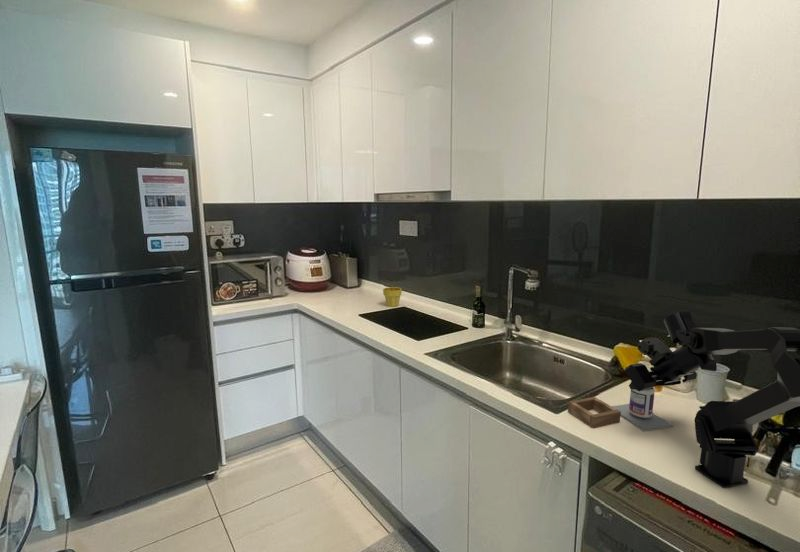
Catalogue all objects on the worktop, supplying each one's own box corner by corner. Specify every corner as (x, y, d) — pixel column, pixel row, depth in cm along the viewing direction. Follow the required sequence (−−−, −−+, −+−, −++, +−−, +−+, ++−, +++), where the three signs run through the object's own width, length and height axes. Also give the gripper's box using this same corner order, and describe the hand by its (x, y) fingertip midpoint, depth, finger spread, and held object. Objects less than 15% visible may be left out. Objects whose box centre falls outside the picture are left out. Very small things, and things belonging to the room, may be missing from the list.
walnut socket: (619, 422, 105) (620, 411, 105) (592, 428, 102) (593, 417, 102) (593, 406, 114) (594, 396, 113) (567, 411, 111) (568, 401, 110)
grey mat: (672, 426, 103) (672, 424, 103) (643, 431, 101) (644, 429, 101) (635, 404, 115) (635, 402, 115) (608, 408, 113) (608, 406, 113)
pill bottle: (643, 408, 110) (647, 374, 109) (656, 418, 105) (660, 382, 104) (624, 408, 110) (627, 374, 109) (636, 418, 105) (640, 383, 103)
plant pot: (385, 308, 223) (385, 291, 221) (381, 304, 233) (381, 287, 231) (403, 307, 225) (403, 290, 224) (399, 303, 235) (399, 286, 234)
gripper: (690, 327, 103) (647, 354, 115) (635, 334, 97) (595, 362, 109) (719, 368, 97) (670, 392, 109) (662, 378, 91) (617, 402, 103)
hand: (638, 385), depth 108 cm, fingers closed on pill bottle, 5 cm apart
